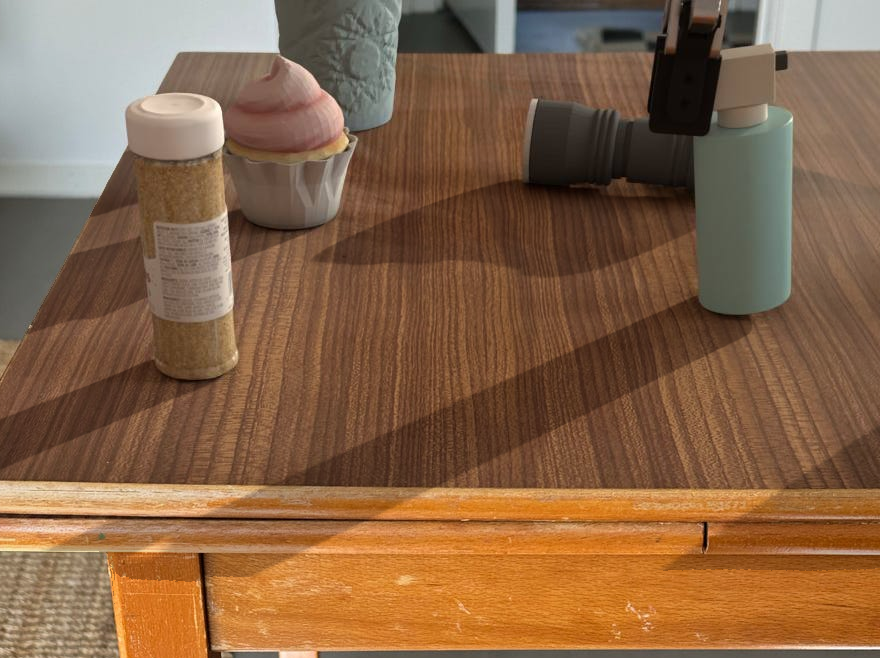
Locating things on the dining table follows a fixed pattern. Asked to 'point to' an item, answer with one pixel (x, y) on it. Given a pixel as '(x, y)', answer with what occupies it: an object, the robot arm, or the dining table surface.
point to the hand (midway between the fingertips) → (677, 121)
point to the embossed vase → (345, 52)
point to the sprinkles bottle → (184, 232)
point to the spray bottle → (745, 188)
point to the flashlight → (601, 148)
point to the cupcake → (287, 149)
